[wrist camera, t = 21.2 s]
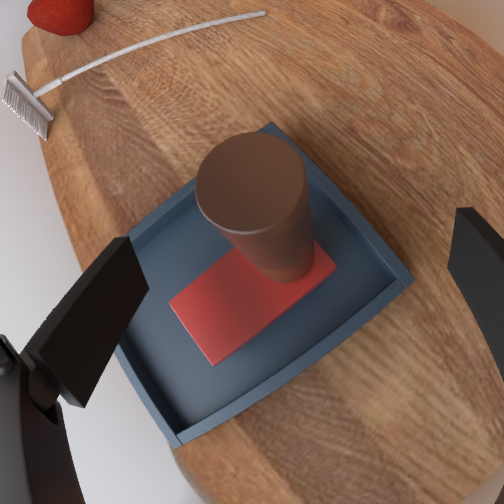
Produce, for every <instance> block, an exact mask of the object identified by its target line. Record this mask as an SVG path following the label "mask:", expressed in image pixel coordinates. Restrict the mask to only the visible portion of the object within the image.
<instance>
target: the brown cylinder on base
mask: <svg viewBox="0 0 504 504" xmlns="http://www.w3.org/2000/svg"><path fill="white" fill-rule="evenodd" d="M195 197H196V201H197V205H198V207H199V209H200V211H201V213H202V214H203V216H204V217H205V218H206V219H207V220H208V221H209V222H210V223H211V224H212V225H213V226H214V227H215V228H216V229H217V230H218V231H219V232H220V233H221V234H222V235H223V236H224V237H225V238H226V239H227V240H228V241H229V242H230V243H232V244H233V245H234V246H235V247H234V248H232V249H231V250H230V251H229V252H228V253H226V254H225V255H224V256H223V257H222V258H220V259H219V260H218V261H217V262H216V263H214V264H213V265H212V266H211V267H210V268H208V269H207V270H206V271H205V272H204V273H202V274H201V275H200V276H199V277H198V278H196V279H195V280H194V281H193V282H192V283H191V284H189V285H188V286H187V287H186V288H185V289H183V290H182V291H181V292H180V293H179V294H177V295H176V296H175V297H174V298H173V299H172V300H170V301H169V304H170V306H171V307H172V309H173V310H174V312H175V313H176V315H177V316H178V318H179V319H180V321H181V322H182V324H183V325H184V326H185V328H186V329H187V331H188V332H189V334H190V335H191V337H192V338H193V339H194V341H195V342H196V344H197V345H198V346H199V348H200V349H201V351H202V352H203V353H204V355H205V356H206V358H207V359H208V360H209V362H210V363H211V364H212V366H215V365H218V364H220V363H222V362H223V361H224V360H226V359H227V358H228V357H230V356H231V355H232V354H234V353H235V352H236V351H237V350H239V349H240V348H241V347H243V346H244V345H245V344H247V343H248V342H249V341H250V340H252V339H253V338H254V337H256V336H257V335H258V334H259V333H261V332H262V331H263V330H265V329H266V328H267V327H268V326H270V325H271V324H272V323H273V322H275V321H276V320H277V319H278V318H280V317H281V316H282V315H283V314H285V313H286V312H287V311H288V310H289V309H291V308H292V307H293V306H294V305H296V304H297V303H298V302H299V301H300V300H302V299H303V298H304V297H305V296H306V295H308V294H309V293H310V292H311V291H312V290H314V289H315V288H316V287H317V286H318V285H320V284H321V283H322V282H323V281H324V280H325V279H327V278H328V277H329V276H330V275H331V274H332V273H334V272H335V271H336V269H337V265H336V263H335V262H334V261H333V260H332V259H331V258H330V257H329V255H328V254H327V253H326V252H325V251H324V250H323V249H322V248H321V246H320V245H319V244H318V243H317V242H316V241H315V240H314V239H313V232H312V221H311V210H310V200H309V191H308V181H307V173H306V168H305V165H304V162H303V160H302V158H301V156H300V154H299V153H298V151H297V150H296V149H295V148H294V147H293V146H292V145H291V144H289V143H288V142H287V141H285V140H283V139H282V138H280V137H278V136H275V135H272V134H268V133H262V132H250V133H243V134H239V135H236V136H233V137H231V138H228V139H227V140H225V141H223V142H221V143H220V144H219V145H217V146H216V147H215V148H214V149H213V150H211V152H210V153H209V154H208V155H207V156H206V157H205V159H204V160H203V162H202V164H201V165H200V168H199V170H198V172H197V176H196V181H195Z"/></svg>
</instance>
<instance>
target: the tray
mask: <svg viewBox="0 0 504 504" xmlns="http://www.w3.org/2000/svg"><path fill="white" fill-rule="evenodd" d="M257 132H262V133H268V134H272V135H275V136H278V137H280V138H282V139H283V140H285V141H287V142H288V143H289V144H291V145H292V146H293V147H294V148H295V149H296V150H297V151H298V153H299V154H300V156H301V158H302V160H303V162H304V165H305V168H306V173H307V181H308V191H309V200H310V210H311V221H312V232H313V239H314V240H315V241H316V242H317V243H318V244H319V245H320V246H321V248H322V249H323V250H324V251H325V252H326V253H327V254H328V255H329V257H330V258H331V259H332V260H333V261H334V262H335V263H336V265H337V269H336V271H335V272H334V273H332V274H331V275H330V276H329V277H328V278H327V279H325V280H324V281H323V282H322V283H321V284H320V285H318V286H317V287H316V288H315V289H314V290H312V291H311V292H310V293H309V294H308V295H306V296H305V297H304V298H303V299H302V300H300V301H299V302H298V303H297V304H296V305H294V306H293V307H292V308H291V309H289V310H288V311H287V312H286V313H285V314H283V315H282V316H281V317H280V318H278V319H277V320H276V321H275V322H273V323H272V324H271V325H270V326H268V327H267V328H266V329H265V330H263V331H262V332H261V333H259V334H258V335H257V336H256V337H254V338H253V339H252V340H250V341H249V342H248V343H247V344H245V345H244V346H243V347H241V348H240V349H239V350H237V351H236V352H235V353H234V354H232V355H231V356H230V357H228V358H227V359H226V360H224V361H223V362H222V363H220V364H218V365H215V366H212V364H211V363H210V362H209V360H208V359H207V358H206V356H205V355H204V353H203V352H202V351H201V349H200V348H199V346H198V345H197V344H196V342H195V341H194V339H193V338H192V337H191V335H190V334H189V332H188V331H187V329H186V328H185V326H184V325H183V324H182V322H181V321H180V319H179V318H178V316H177V315H176V313H175V312H174V310H173V309H172V307H171V306H170V304H169V301H170V300H172V299H173V298H174V297H175V296H176V295H177V294H179V293H180V292H181V291H182V290H183V289H185V288H186V287H187V286H188V285H189V284H191V283H192V282H193V281H194V280H195V279H196V278H198V277H199V276H200V275H201V274H202V273H204V272H205V271H206V270H207V269H208V268H210V267H211V266H212V265H213V264H214V263H216V262H217V261H218V260H219V259H220V258H222V257H223V256H224V255H225V254H226V253H228V252H229V251H230V250H231V249H232V248H234V247H235V246H234V245H233V244H232V243H230V242H229V241H228V240H227V239H226V238H225V237H224V236H223V235H222V234H221V233H220V232H219V231H218V230H217V229H216V228H215V227H214V226H213V225H212V224H211V223H210V222H209V221H208V220H207V219H206V218H205V217H204V216H203V214H202V213H201V211H200V209H199V207H198V205H197V201H196V197H195V181H196V177H195V178H193V179H192V180H191V181H190V182H188V183H187V184H186V185H184V186H183V187H182V188H181V189H179V190H178V191H177V192H176V193H175V194H173V195H172V196H171V197H170V198H168V199H167V200H166V201H165V202H163V203H162V204H161V205H160V206H159V207H157V208H156V209H155V210H154V211H153V212H151V213H150V214H149V215H148V216H147V217H146V218H144V219H143V220H142V221H141V222H140V223H139V224H137V225H136V226H135V227H134V228H133V229H132V230H131V231H129V232H128V233H127V234H126V235H125V236H129V237H130V240H131V243H132V245H133V248H134V251H135V253H136V256H137V258H138V261H139V263H140V266H141V269H142V271H143V273H144V276H145V278H146V281H147V283H148V286H149V288H150V289H149V291H148V292H147V294H146V296H145V297H144V299H143V301H142V303H141V304H140V306H139V308H138V309H137V311H136V313H135V315H134V316H133V318H132V320H131V322H130V324H129V325H128V327H127V329H126V331H125V332H124V334H123V336H122V338H121V340H120V341H119V343H118V345H117V347H116V349H115V351H114V354H115V356H116V358H117V360H118V362H119V363H120V365H121V367H122V369H123V371H124V372H125V374H126V376H127V378H128V379H129V381H130V383H131V384H132V386H133V388H134V389H135V391H136V393H137V394H138V396H139V398H140V399H141V401H142V402H143V404H144V406H145V407H146V408H147V410H148V412H149V413H150V415H151V417H152V418H153V419H154V421H155V423H156V424H157V426H158V427H159V429H160V430H161V431H162V433H163V434H164V436H165V437H166V439H167V440H168V441H169V443H170V444H171V446H172V447H173V448H174V449H176V448H178V447H180V446H182V445H184V444H186V443H188V442H190V441H192V440H194V439H195V438H197V437H199V436H201V435H203V434H204V433H206V432H208V431H210V430H212V429H213V428H215V427H217V426H219V425H220V424H222V423H224V422H225V421H227V420H229V419H231V418H232V417H234V416H236V415H237V414H239V413H240V412H242V411H244V410H245V409H247V408H249V407H250V406H252V405H253V404H255V403H257V402H258V401H260V400H261V399H263V398H264V397H266V396H267V395H269V394H270V393H272V392H273V391H275V390H277V389H278V388H279V387H281V386H282V385H284V384H285V383H287V382H288V381H290V380H291V379H293V378H294V377H296V376H297V375H298V374H300V373H301V372H303V371H304V370H305V369H307V368H308V367H310V366H311V365H312V364H314V363H315V362H317V361H318V360H319V359H321V358H322V357H323V356H325V355H326V354H327V353H329V352H330V351H331V350H333V349H334V348H335V347H337V346H338V345H339V344H340V343H342V342H343V341H344V340H346V339H347V338H348V337H349V336H351V335H352V334H353V333H354V332H356V331H357V330H358V329H359V328H361V327H362V326H363V325H364V324H365V323H367V322H368V321H369V320H370V319H372V318H373V317H374V316H375V315H376V314H377V313H379V312H380V311H381V310H382V309H383V308H384V307H386V306H387V305H388V304H389V303H390V302H391V301H393V300H394V299H395V298H396V297H397V296H398V295H399V294H400V293H402V292H403V291H404V290H405V289H406V288H407V287H408V286H409V285H410V284H412V283H413V282H414V281H415V278H414V277H413V275H412V274H411V273H410V272H409V270H408V269H407V268H406V267H405V265H404V264H403V263H402V262H401V260H400V259H399V258H398V257H397V255H396V254H395V253H394V252H393V250H392V249H391V248H390V247H389V246H388V244H387V243H386V242H385V241H384V239H383V238H382V237H381V236H380V235H379V234H378V232H377V231H376V230H375V229H374V228H373V227H372V225H371V224H370V223H369V222H368V221H367V220H366V218H365V217H364V216H363V215H362V214H361V213H360V212H359V211H358V209H357V208H356V207H355V206H354V205H353V204H352V203H351V202H350V200H349V199H348V198H347V197H346V196H345V195H344V194H343V193H342V192H341V191H340V190H339V189H338V187H337V186H336V185H335V184H334V183H333V182H332V181H331V180H330V179H329V178H328V177H327V176H326V175H325V174H324V173H323V172H322V171H321V170H320V169H319V167H318V166H317V165H316V164H315V163H314V162H313V161H312V160H311V159H310V158H309V157H308V156H307V155H306V154H305V153H304V152H303V151H302V150H301V149H300V148H299V147H298V146H297V145H296V144H295V143H294V142H293V141H291V140H290V139H289V138H288V137H287V136H286V135H285V134H284V133H283V132H282V131H281V130H280V129H279V128H278V127H277V126H276V125H275V124H274V123H273V122H270V123H269V124H267V125H266V126H264V127H263V128H261V129H260V130H258V131H257ZM125 236H124V237H125Z"/></svg>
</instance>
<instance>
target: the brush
mask: <svg viewBox="0 0 504 504" xmlns="http://www.w3.org/2000/svg"><path fill="white" fill-rule="evenodd" d="M259 16H265V11H258V12H252V13H246V14H240V15H235V16H230V17H226V18H221V19H217V20H212V21H208V22H204V23H200V24H196V25H193V26H189V27H185V28H182V29H178V30H175V31H172V32H169V33H165V34H162V35H159V36H156V37H153V38H150V39H147V40H145V41H142V42H139V43H136V44H134V45H131V46H129V47H126V48H123V49H121V50H118V51H116V52H114V53H111V54H109V55H107V56H104V57H102V58H100V59H97V60H95V61H93V62H91V63H89V64H87V65H84V66H82V67H80V68H78V69H76V70H74V71H72V72H70V73H68V74H66V75H65V76H63V77H59V78H57V79H55V80H53V81H52V82H50V83H48V84H46V85H45V86H43V87H41V88H39V89H38V90H36V91H33V90H32V89H31V88H30V87H29V86H28V85H27V84H26V82H25V81H24V80H23V79H22V78H21V77H20V76H19V75H18V73H17V72H16V71H12V72H11V73H9V74H8V75H7V76H6V80H5V85H4V90H3V95H2V102H3V101H4V100H5V103H4V104H7V107H9V106H10V109H12V108H13V112H14V111H15V110H16V111H15V114H17V113H18V117H19V116H20V115H21V119H22V118H23V121H25V120H26V122H25V123H26V124H27V123H28V126H30V128H32V127H33V130H35V132H38V135H39V134H40V137H41V136H42V139H43V138H44V141H46V140H47V124H48V122H49V121H51V120H53V119H54V115H55V114H54V113H53V112H52V111H51V110H50V109H49V108H48V107H47V106H46V104H45V103H44V102H43V101H42V100H41V99H40V98H39V96H41V95H43V94H44V93H46V92H48V91H50V90H51V89H53V88H55V87H57V86H59V85H61V84H63V82H64V81H66V80H68V79H70V78H72V77H74V76H76V75H78V74H80V73H82V72H84V71H86V70H88V69H90V68H92V67H95V66H97V65H99V64H101V63H103V62H106V61H108V60H110V59H113V58H115V57H118V56H120V55H123V54H125V53H128V52H130V51H133V50H135V49H138V48H141V47H144V46H146V45H149V44H152V43H155V42H158V41H161V40H164V39H167V38H170V37H174V36H177V35H180V34H184V33H187V32H191V31H194V30H198V29H202V28H206V27H210V26H214V25H218V24H223V23H227V22H232V21H237V20H242V19H247V18H253V17H259ZM5 96H6V97H5ZM7 102H8V103H7ZM10 103H11V104H10Z"/></svg>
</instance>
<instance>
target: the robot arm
mask: <svg viewBox="0 0 504 504" xmlns="http://www.w3.org/2000/svg"><path fill="white" fill-rule="evenodd" d="M447 269H448V270H449V272H450V274H451V275H452V277H453V279H454V280H455V282H456V284H457V286H458V287H459V289H460V291H461V293H462V295H463V296H464V298H465V300H466V302H467V304H468V306H469V308H470V309H471V311H472V313H473V315H474V317H475V319H476V321H477V323H478V325H479V327H480V329H481V331H482V333H483V335H484V337H485V340H486V342H487V344H488V346H489V348H490V350H491V353H492V355H493V357H494V359H495V362H496V364H497V366H498V369H499V371H500V374H501V376H502V379H503V381H504V239H503V238H502V237H501V236H500V235H499V234H498V233H497V232H496V231H495V230H494V229H493V228H492V227H491V226H490V225H489V223H488V222H487V221H486V220H485V219H484V218H483V217H482V216H481V215H480V214H479V213H478V212H477V211H476V210H475V209H474V208H473V207H465V208H456V216H455V224H454V231H453V238H452V244H451V251H450V256H449V262H448V267H447ZM149 289H150V288H149V286H148V283H147V281H146V278H145V276H144V273H143V271H142V269H141V266H140V263H139V261H138V258H137V256H136V253H135V251H134V248H133V245H132V243H131V240H130V237H129V236H125V237H117V238H114V239H113V240H112V241H111V243H110V244H109V245H108V246H107V247H106V248H105V249H104V250H103V251H102V252H101V254H100V255H99V256H98V257H97V258H96V259H95V260H94V262H93V263H92V264H91V265H90V266H89V267H88V268H87V270H86V271H85V272H84V273H83V274H82V275H81V277H80V278H79V279H78V280H77V281H76V283H75V284H74V285H73V287H71V289H70V290H69V291H68V292H67V294H66V295H65V296H64V297H63V298H62V300H61V301H60V302H59V304H58V305H57V306H56V307H55V308H54V309H53V310H52V312H51V313H50V314H49V315H48V317H47V318H46V320H45V321H44V322H43V323H42V325H41V326H40V328H39V329H38V330H37V331H36V333H35V334H34V335H33V336H32V338H31V339H30V341H29V342H28V343H27V345H26V346H25V348H24V349H23V350H22V352H21V353H20V354H18V353H17V352H16V350H15V349H14V347H13V346H12V345H11V343H10V342H9V340H8V339H7V338H6V336H4V335H1V334H0V504H85V501H84V498H83V494H82V491H81V488H80V485H79V482H78V478H77V475H76V471H75V467H74V464H73V460H72V456H71V452H70V448H69V443H68V439H67V434H66V429H65V424H64V419H63V414H62V408H61V405H60V403H59V402H58V401H57V398H58V396H59V394H60V395H61V396H62V397H63V398H64V399H65V400H66V401H67V403H69V404H70V405H74V406H77V407H81V408H85V407H86V405H87V402H88V400H89V398H90V396H91V395H92V393H93V391H94V389H95V387H96V384H97V383H98V381H99V379H100V377H101V375H102V373H103V371H104V369H105V367H106V365H107V363H108V362H109V360H110V358H111V356H112V354H113V352H114V351H115V349H116V347H117V345H118V343H119V341H120V340H121V338H122V336H123V334H124V332H125V331H126V329H127V327H128V325H129V324H130V322H131V320H132V318H133V316H134V315H135V313H136V311H137V309H138V308H139V306H140V304H141V303H142V301H143V299H144V297H145V296H146V294H147V292H148V291H149ZM495 504H504V486H503V488H502V490H501V492H500V494H499V496H498V498H497V500H496V502H495Z"/></svg>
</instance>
